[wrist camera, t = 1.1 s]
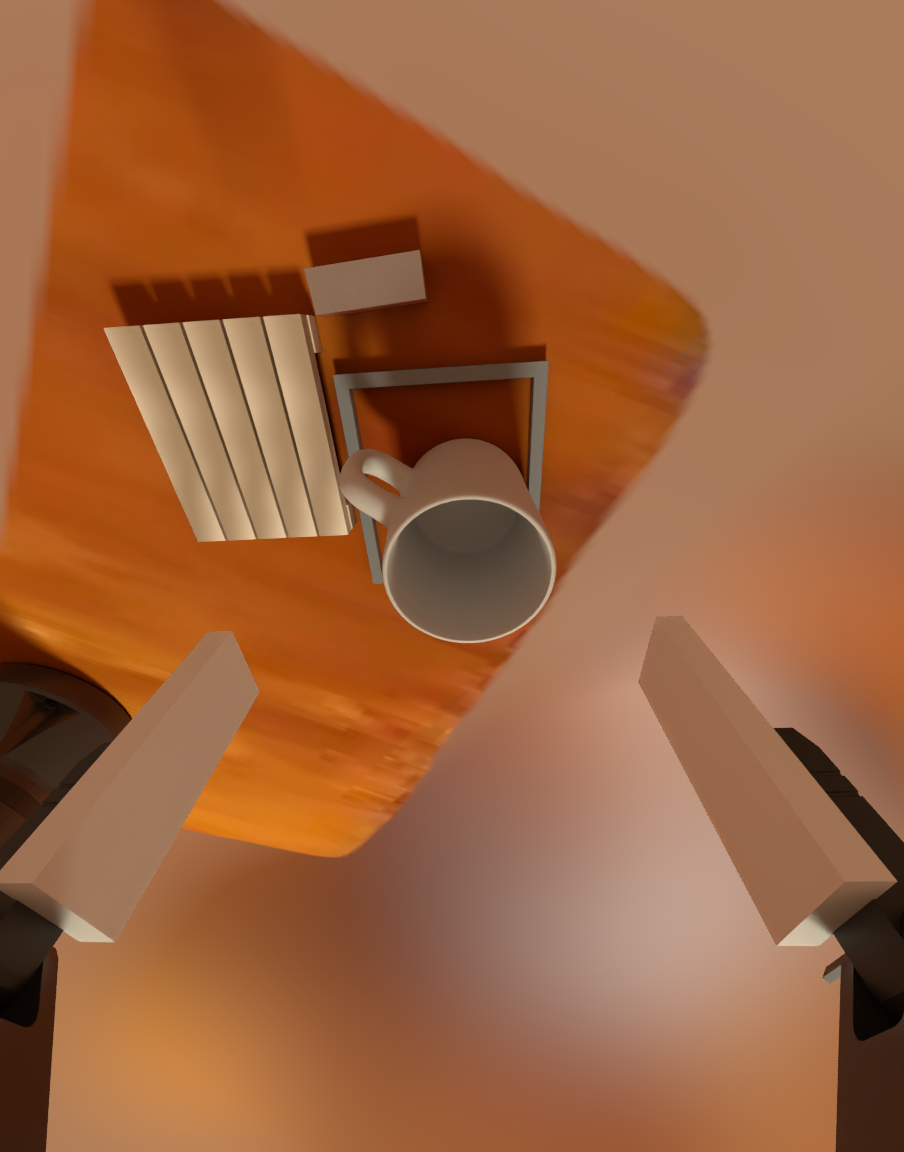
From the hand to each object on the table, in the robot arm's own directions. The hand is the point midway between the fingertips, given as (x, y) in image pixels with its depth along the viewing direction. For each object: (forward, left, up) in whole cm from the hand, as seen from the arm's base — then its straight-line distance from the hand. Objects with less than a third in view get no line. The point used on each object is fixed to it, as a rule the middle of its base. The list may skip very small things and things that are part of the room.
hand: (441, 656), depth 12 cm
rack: (-13, +4, -17) cm, 22 cm away
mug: (0, 0, -18) cm, 18 cm away
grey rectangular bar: (-4, +11, -18) cm, 21 cm away
